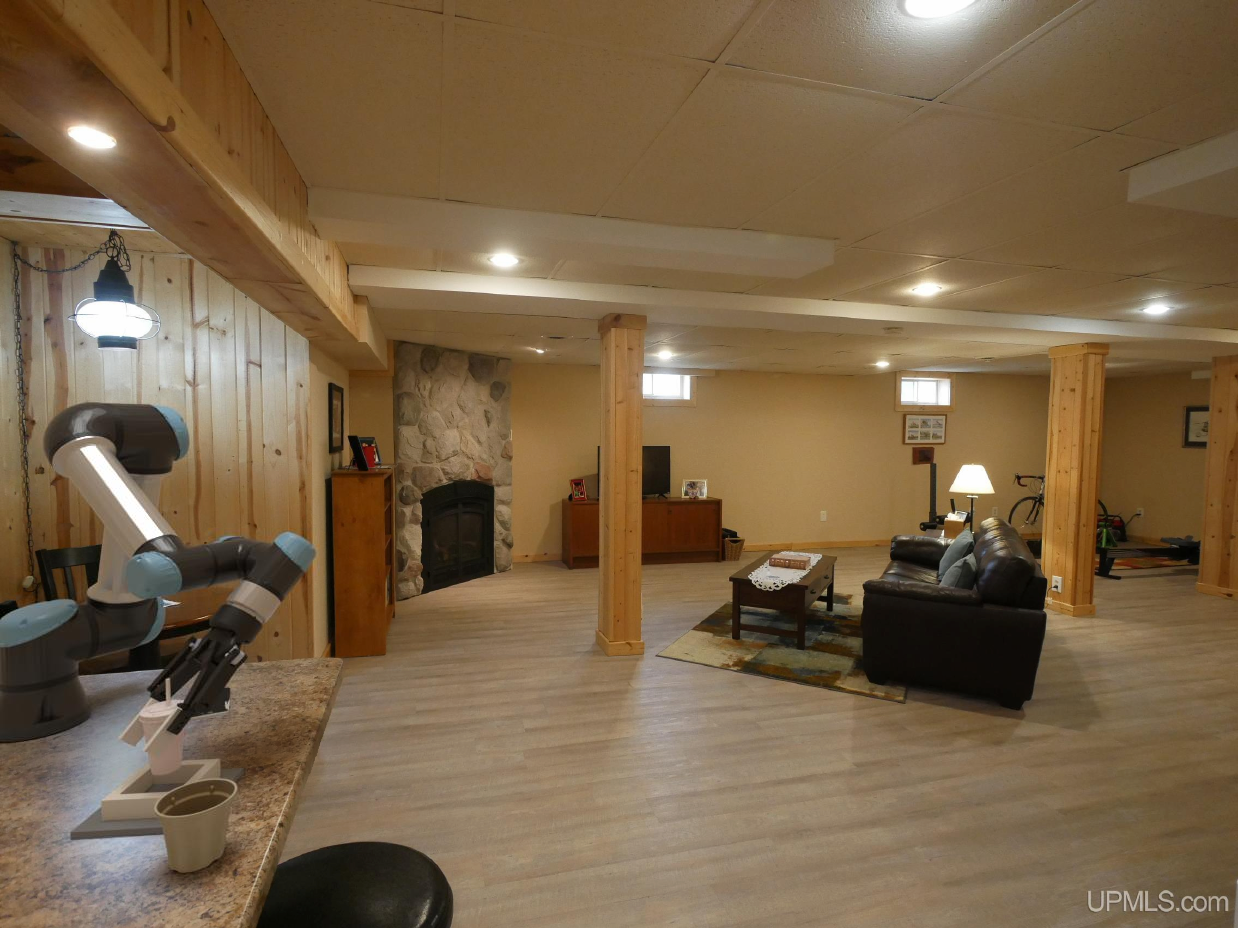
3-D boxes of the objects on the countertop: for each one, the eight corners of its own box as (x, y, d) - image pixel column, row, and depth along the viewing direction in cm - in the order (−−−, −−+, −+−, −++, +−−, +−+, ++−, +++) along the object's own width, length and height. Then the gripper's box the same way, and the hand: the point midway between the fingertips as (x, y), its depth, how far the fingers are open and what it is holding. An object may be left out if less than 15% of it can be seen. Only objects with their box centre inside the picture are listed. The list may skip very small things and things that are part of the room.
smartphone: (230, 686, 142) (228, 711, 129) (230, 692, 142) (229, 717, 129) (189, 693, 138) (183, 719, 126) (189, 699, 138) (183, 726, 126)
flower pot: (223, 827, 93) (222, 770, 92) (249, 855, 87) (248, 793, 86) (145, 860, 85) (144, 798, 85) (168, 893, 79) (166, 826, 79)
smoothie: (198, 765, 99) (196, 677, 99) (151, 784, 94) (149, 691, 93) (179, 754, 103) (177, 669, 102) (132, 772, 97) (130, 682, 97)
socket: (142, 778, 106) (141, 754, 105) (243, 773, 107) (243, 750, 107) (70, 839, 90) (69, 811, 90) (191, 832, 92) (190, 805, 91)
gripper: (294, 633, 106) (193, 773, 93) (227, 617, 116) (126, 742, 102) (263, 609, 101) (152, 754, 88) (196, 595, 111) (85, 723, 97)
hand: (138, 747), depth 95 cm, fingers closed on smoothie, 6 cm apart
